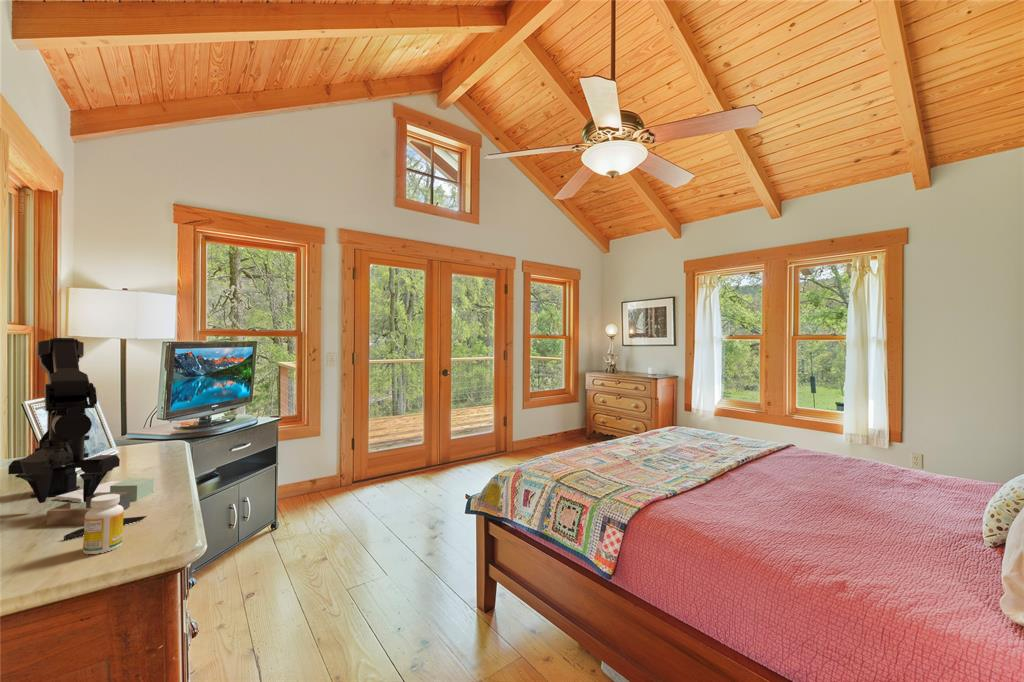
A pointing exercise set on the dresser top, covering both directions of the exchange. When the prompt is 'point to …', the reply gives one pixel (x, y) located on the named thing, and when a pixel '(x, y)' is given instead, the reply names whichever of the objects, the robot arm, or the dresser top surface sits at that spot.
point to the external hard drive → (78, 495)
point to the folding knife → (81, 531)
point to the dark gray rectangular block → (123, 495)
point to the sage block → (135, 487)
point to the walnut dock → (66, 515)
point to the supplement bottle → (103, 524)
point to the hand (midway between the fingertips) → (64, 502)
